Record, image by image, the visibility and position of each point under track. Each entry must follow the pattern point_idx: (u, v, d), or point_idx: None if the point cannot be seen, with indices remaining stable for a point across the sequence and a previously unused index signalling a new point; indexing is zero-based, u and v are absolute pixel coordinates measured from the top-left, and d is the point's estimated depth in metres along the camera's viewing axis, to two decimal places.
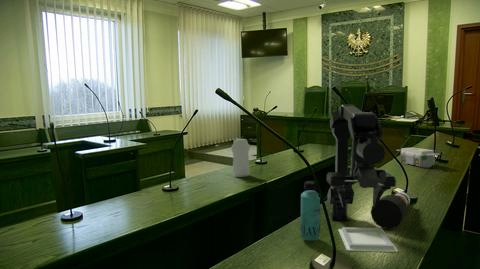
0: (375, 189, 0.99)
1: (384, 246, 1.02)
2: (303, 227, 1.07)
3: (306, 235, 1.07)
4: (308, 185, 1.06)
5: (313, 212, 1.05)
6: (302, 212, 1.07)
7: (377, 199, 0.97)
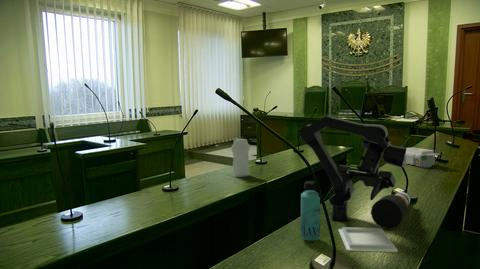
0: (347, 180, 1.16)
1: (384, 246, 1.02)
2: (303, 227, 1.07)
3: (306, 235, 1.07)
4: (308, 185, 1.06)
5: (313, 212, 1.05)
6: (302, 212, 1.07)
7: None
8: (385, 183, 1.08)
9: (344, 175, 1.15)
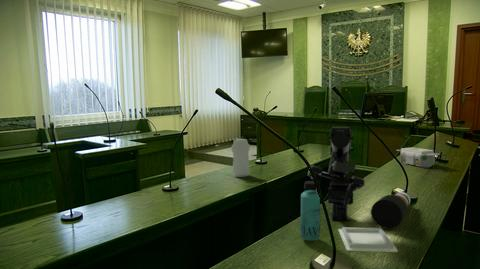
0: (347, 190, 1.15)
1: (384, 246, 1.02)
2: (303, 227, 1.07)
3: (306, 235, 1.07)
4: (308, 185, 1.06)
5: (313, 212, 1.05)
6: (302, 212, 1.07)
7: (347, 196, 1.13)
8: (312, 177, 1.17)
9: None
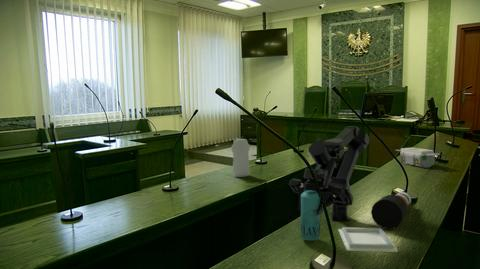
0: None
1: (384, 246, 1.02)
2: (303, 227, 1.07)
3: (306, 235, 1.07)
4: (308, 185, 1.06)
5: (313, 212, 1.05)
6: (302, 212, 1.07)
7: (320, 205, 1.06)
8: None
9: None
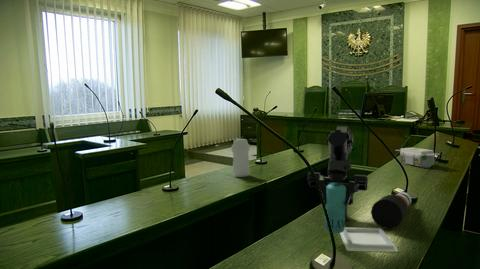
0: None
1: (384, 246, 1.02)
2: (331, 221, 1.04)
3: (334, 228, 1.04)
4: (337, 177, 1.03)
5: (342, 204, 1.03)
6: (330, 205, 1.04)
7: (347, 196, 1.04)
8: None
9: None
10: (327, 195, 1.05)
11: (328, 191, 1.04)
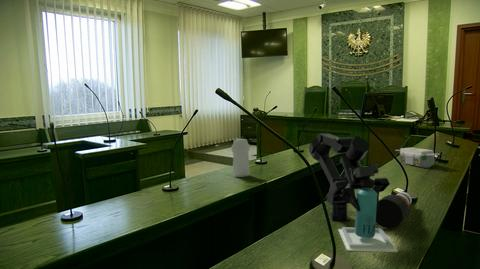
0: None
1: (384, 246, 1.02)
2: (367, 226, 1.05)
3: (370, 233, 1.05)
4: (371, 182, 1.04)
5: None
6: (366, 211, 1.04)
7: (377, 199, 1.07)
8: (343, 194, 1.09)
9: None
10: (362, 202, 1.05)
11: (364, 198, 1.04)
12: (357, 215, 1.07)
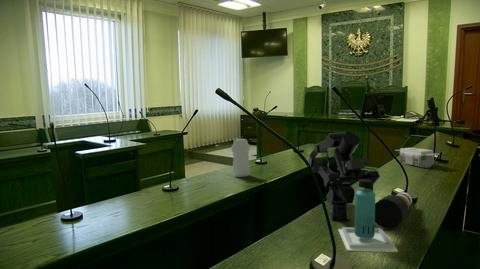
0: None
1: (384, 246, 1.02)
2: (367, 227, 1.05)
3: (370, 234, 1.05)
4: (369, 183, 1.04)
5: (374, 209, 1.06)
6: (365, 212, 1.04)
7: None
8: (332, 186, 1.15)
9: None
10: (360, 202, 1.05)
11: (362, 198, 1.04)
12: (356, 216, 1.07)
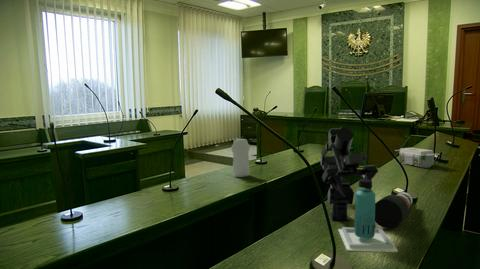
0: None
1: (384, 246, 1.02)
2: (367, 227, 1.05)
3: (370, 234, 1.05)
4: (369, 183, 1.04)
5: (374, 209, 1.05)
6: (365, 212, 1.04)
7: None
8: (330, 180, 1.15)
9: None
10: (360, 203, 1.05)
11: (362, 198, 1.04)
12: (356, 216, 1.07)
